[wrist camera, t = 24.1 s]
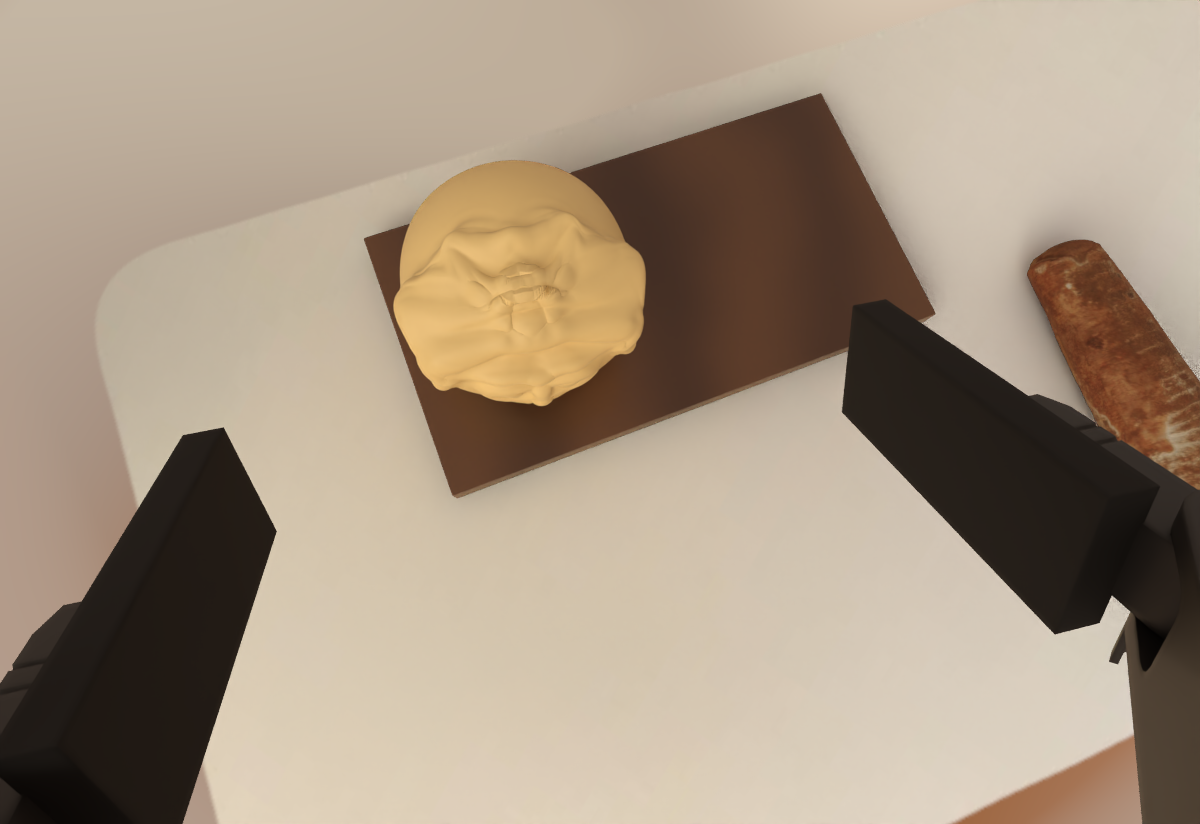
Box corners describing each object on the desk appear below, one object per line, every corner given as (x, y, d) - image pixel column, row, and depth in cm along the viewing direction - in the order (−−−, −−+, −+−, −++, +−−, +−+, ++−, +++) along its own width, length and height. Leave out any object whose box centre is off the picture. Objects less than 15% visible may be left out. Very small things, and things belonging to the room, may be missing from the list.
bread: (1133, 565, 38) (1228, 565, 33) (998, 269, 42) (1062, 225, 37) (1226, 533, 39) (1334, 528, 34) (1084, 245, 43) (1160, 198, 37)
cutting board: (456, 498, 37) (452, 496, 36) (370, 249, 40) (363, 237, 39) (923, 322, 41) (936, 313, 39) (812, 108, 44) (821, 92, 42)
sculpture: (442, 444, 36) (394, 394, 26) (407, 245, 39) (349, 125, 28) (646, 401, 37) (679, 337, 27) (598, 210, 40) (612, 84, 29)
